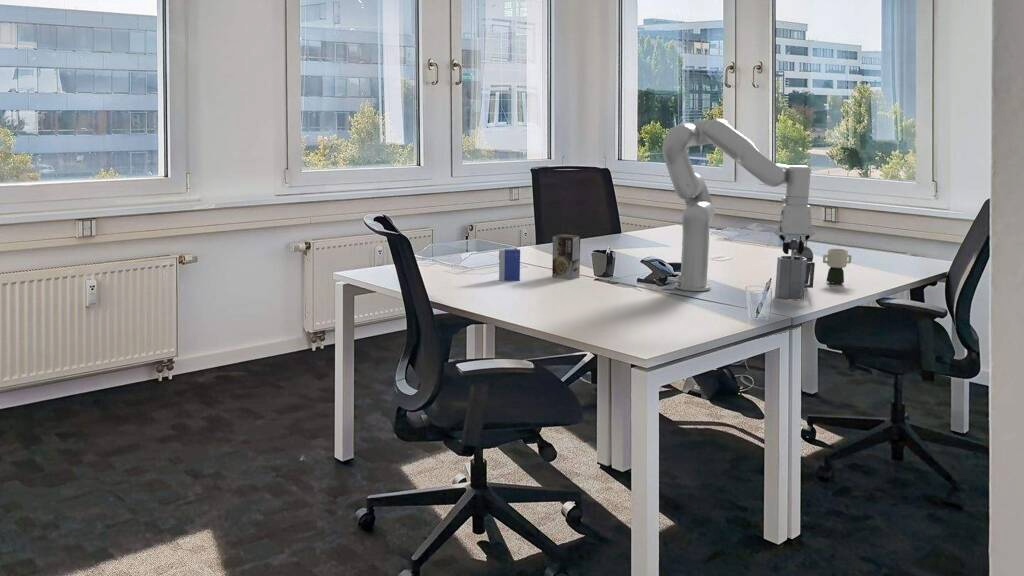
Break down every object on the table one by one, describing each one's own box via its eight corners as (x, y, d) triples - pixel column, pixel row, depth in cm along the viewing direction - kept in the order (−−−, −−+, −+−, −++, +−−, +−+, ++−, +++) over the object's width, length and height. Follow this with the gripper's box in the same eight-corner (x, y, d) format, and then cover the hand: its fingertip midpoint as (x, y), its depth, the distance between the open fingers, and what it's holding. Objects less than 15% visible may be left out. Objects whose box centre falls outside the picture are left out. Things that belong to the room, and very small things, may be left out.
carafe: (780, 299, 318) (783, 260, 315) (772, 294, 327) (774, 255, 325) (816, 300, 319) (819, 260, 316) (806, 294, 328) (809, 255, 325)
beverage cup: (795, 284, 345) (799, 232, 341) (814, 287, 340) (818, 234, 336) (787, 287, 339) (791, 234, 335) (806, 290, 335) (810, 236, 331)
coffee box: (580, 277, 354) (581, 235, 350) (572, 279, 348) (573, 237, 345) (559, 274, 358) (560, 233, 355) (551, 277, 353) (552, 235, 350)
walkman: (519, 279, 347) (519, 248, 345) (519, 280, 345) (520, 249, 342) (498, 279, 347) (498, 248, 344) (498, 280, 344) (499, 249, 342)
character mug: (845, 281, 352) (848, 248, 350) (852, 285, 345) (855, 251, 343) (817, 281, 352) (820, 248, 349) (824, 285, 345) (827, 251, 342)
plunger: (783, 296, 320) (787, 240, 316) (777, 292, 326) (781, 237, 322) (801, 296, 320) (806, 240, 316) (795, 293, 326) (799, 237, 322)
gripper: (776, 202, 312) (772, 255, 316) (824, 202, 313) (820, 255, 316) (769, 200, 320) (765, 251, 323) (816, 200, 320) (812, 252, 324)
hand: (792, 253), depth 320 cm, fingers open, 4 cm apart
